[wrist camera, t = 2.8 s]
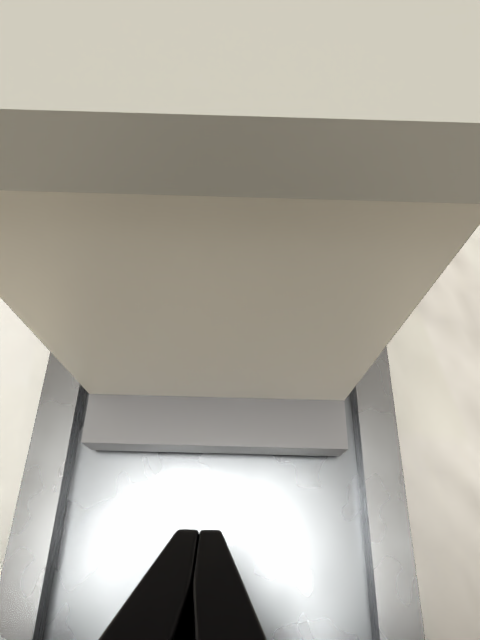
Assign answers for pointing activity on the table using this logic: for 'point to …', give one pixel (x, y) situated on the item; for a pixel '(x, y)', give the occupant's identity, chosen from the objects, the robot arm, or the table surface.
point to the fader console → (214, 525)
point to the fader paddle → (231, 203)
